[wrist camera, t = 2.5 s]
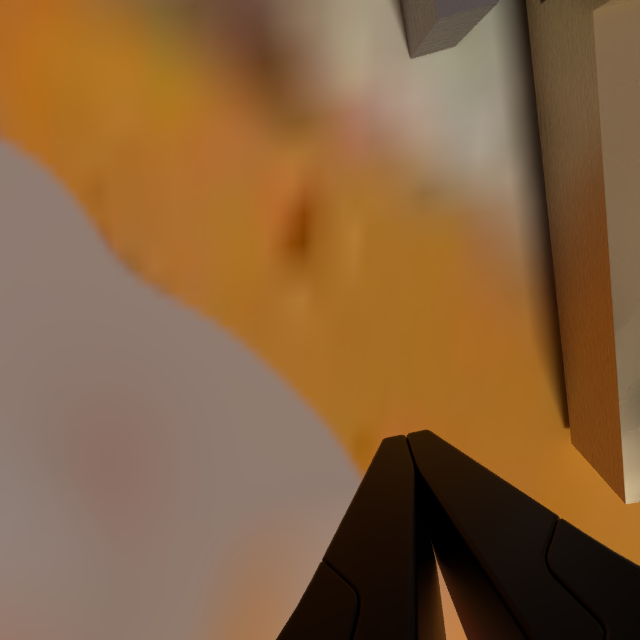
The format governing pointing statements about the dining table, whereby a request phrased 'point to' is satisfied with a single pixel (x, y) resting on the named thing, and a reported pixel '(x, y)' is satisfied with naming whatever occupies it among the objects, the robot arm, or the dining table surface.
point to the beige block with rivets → (594, 218)
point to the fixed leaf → (440, 22)
